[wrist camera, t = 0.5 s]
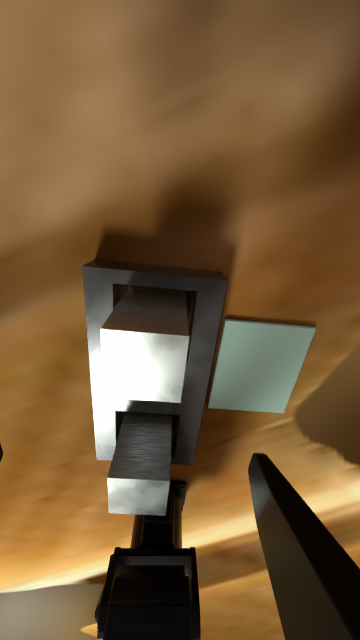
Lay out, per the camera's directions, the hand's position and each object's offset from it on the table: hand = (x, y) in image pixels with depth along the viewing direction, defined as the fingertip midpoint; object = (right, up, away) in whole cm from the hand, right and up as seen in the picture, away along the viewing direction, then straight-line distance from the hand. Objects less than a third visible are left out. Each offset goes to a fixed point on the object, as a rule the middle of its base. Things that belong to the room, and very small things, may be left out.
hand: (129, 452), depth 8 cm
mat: (+9, 0, +14) cm, 17 cm away
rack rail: (-1, 0, +14) cm, 14 cm away
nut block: (0, +5, +12) cm, 13 cm away
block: (-1, -6, +17) cm, 18 cm away
